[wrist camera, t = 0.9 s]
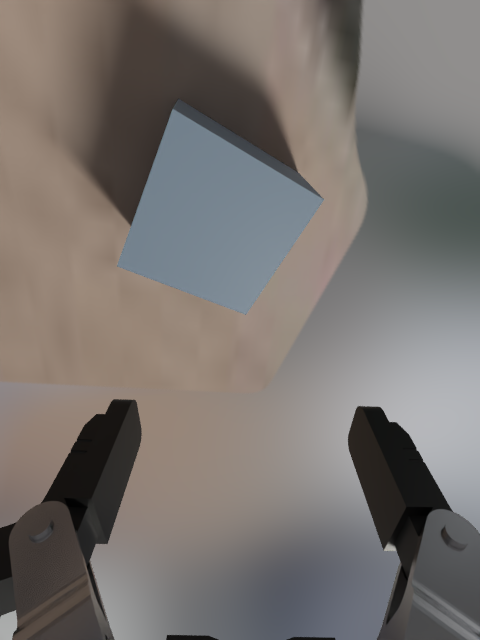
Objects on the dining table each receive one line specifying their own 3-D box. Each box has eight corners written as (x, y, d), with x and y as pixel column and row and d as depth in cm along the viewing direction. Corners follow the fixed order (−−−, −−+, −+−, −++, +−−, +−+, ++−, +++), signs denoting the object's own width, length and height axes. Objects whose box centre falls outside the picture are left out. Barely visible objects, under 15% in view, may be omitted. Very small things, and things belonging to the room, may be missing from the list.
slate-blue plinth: (132, 226, 32) (117, 266, 25) (178, 98, 25) (172, 108, 19) (237, 271, 36) (245, 314, 30) (297, 172, 30) (324, 199, 24)
